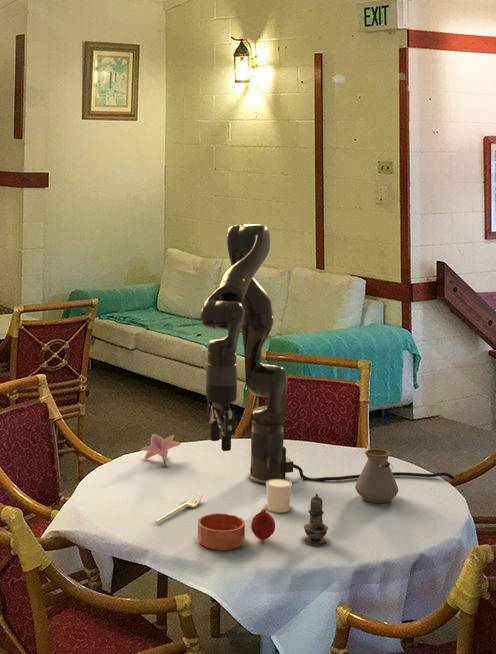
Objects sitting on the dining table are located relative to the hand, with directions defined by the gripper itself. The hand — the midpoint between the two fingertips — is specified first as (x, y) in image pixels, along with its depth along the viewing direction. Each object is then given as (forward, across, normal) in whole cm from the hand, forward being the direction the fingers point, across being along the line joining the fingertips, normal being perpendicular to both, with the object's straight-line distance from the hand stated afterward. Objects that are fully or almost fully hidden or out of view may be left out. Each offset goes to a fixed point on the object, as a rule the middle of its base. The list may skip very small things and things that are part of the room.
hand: (220, 445), depth 238 cm
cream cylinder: (+21, +8, -19) cm, 30 cm away
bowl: (+21, -8, +2) cm, 23 cm away
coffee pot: (+21, +4, -46) cm, 51 cm away
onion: (+21, -10, -8) cm, 25 cm away
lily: (+21, +52, +1) cm, 56 cm away
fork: (+21, +13, +7) cm, 26 cm away
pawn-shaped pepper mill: (+21, -14, -20) cm, 32 cm away
